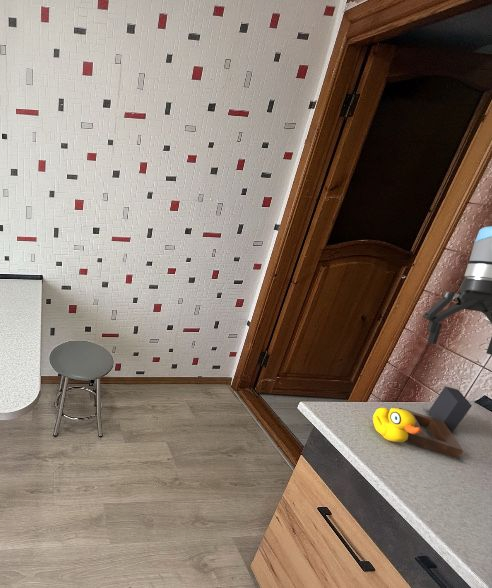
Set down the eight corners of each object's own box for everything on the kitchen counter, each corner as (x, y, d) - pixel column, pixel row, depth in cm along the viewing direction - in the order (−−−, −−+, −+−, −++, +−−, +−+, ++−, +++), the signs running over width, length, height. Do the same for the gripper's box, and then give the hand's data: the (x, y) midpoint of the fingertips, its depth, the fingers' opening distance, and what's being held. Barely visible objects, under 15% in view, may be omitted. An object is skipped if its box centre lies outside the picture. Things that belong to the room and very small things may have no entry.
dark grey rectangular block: (440, 415, 102) (458, 389, 98) (452, 432, 95) (472, 405, 91) (428, 411, 103) (444, 385, 99) (439, 428, 97) (457, 401, 93)
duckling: (414, 456, 86) (434, 427, 82) (393, 453, 86) (411, 424, 82) (381, 423, 97) (397, 396, 93) (362, 421, 97) (377, 394, 93)
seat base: (437, 428, 96) (443, 421, 95) (457, 458, 86) (463, 450, 85) (394, 415, 100) (399, 407, 99) (408, 442, 90) (413, 434, 89)
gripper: (531, 287, 96) (507, 356, 99) (420, 272, 105) (402, 336, 108) (555, 288, 89) (529, 363, 92) (435, 272, 98) (414, 341, 101)
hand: (460, 348), depth 100 cm, fingers open, 13 cm apart
